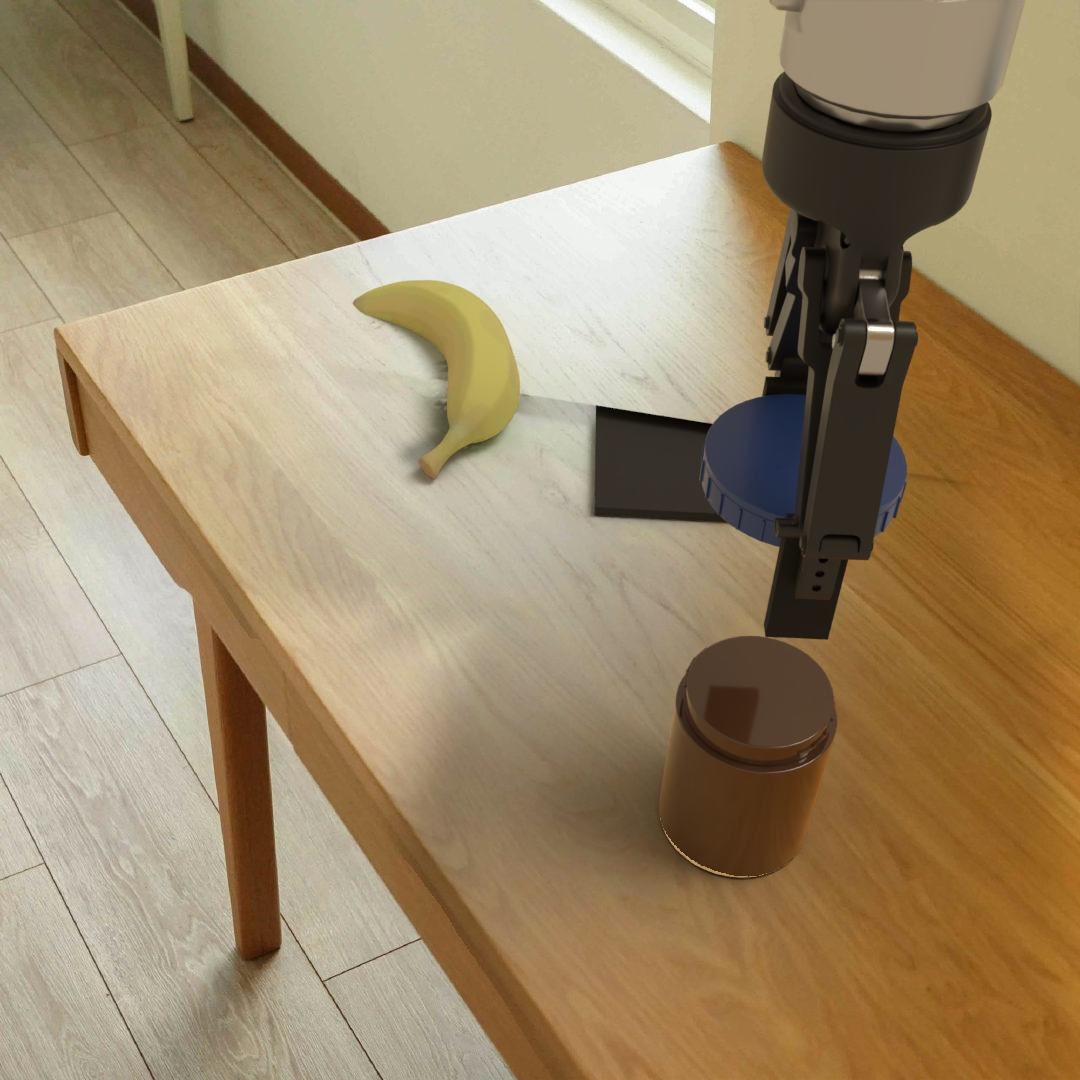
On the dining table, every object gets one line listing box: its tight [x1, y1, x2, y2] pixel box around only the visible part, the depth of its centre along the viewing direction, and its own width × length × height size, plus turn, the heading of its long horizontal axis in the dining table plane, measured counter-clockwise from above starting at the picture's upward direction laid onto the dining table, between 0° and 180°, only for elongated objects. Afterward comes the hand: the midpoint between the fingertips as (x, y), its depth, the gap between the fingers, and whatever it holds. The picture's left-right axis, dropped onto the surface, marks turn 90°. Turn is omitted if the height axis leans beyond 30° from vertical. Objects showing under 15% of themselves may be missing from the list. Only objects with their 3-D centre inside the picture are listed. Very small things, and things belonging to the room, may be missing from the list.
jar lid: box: [700, 394, 908, 548], centre depth 58 cm, size 9×9×2 cm
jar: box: [658, 635, 838, 877], centre depth 69 cm, size 8×8×10 cm
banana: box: [352, 279, 521, 480], centre depth 98 cm, size 14×6×20 cm
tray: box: [593, 404, 729, 524], centre depth 95 cm, size 14×14×1 cm
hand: (784, 557), depth 62 cm, fingers closed on jar lid, 9 cm apart
